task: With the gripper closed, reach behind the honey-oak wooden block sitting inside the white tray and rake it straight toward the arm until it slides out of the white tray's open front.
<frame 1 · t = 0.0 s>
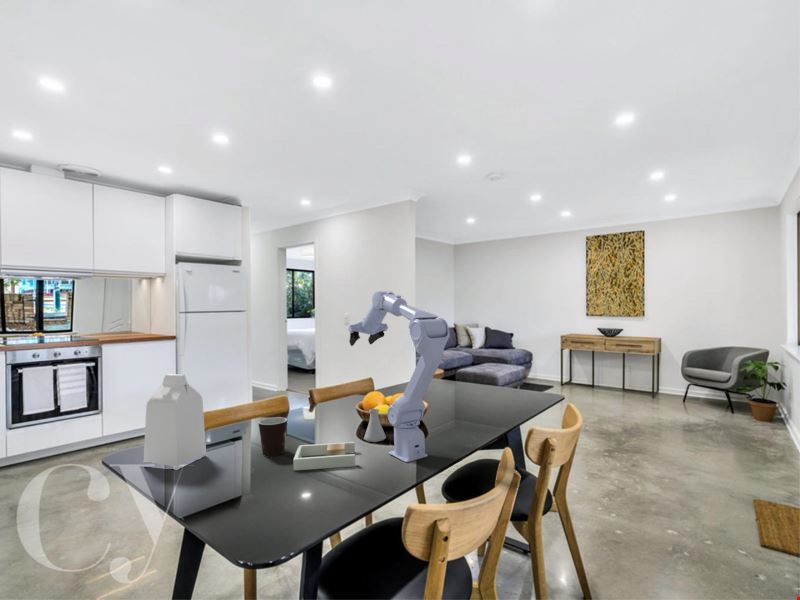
hand: (360, 342, 146), 32 cm above the table, tool tilted 50°, fingers open, 7 cm apart
flask: (374, 439, 138), on the table
milk: (175, 462, 122), on the table
oak block: (336, 460, 120), on the table
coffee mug: (275, 452, 128), on the table
white tray: (327, 460, 119), on the table
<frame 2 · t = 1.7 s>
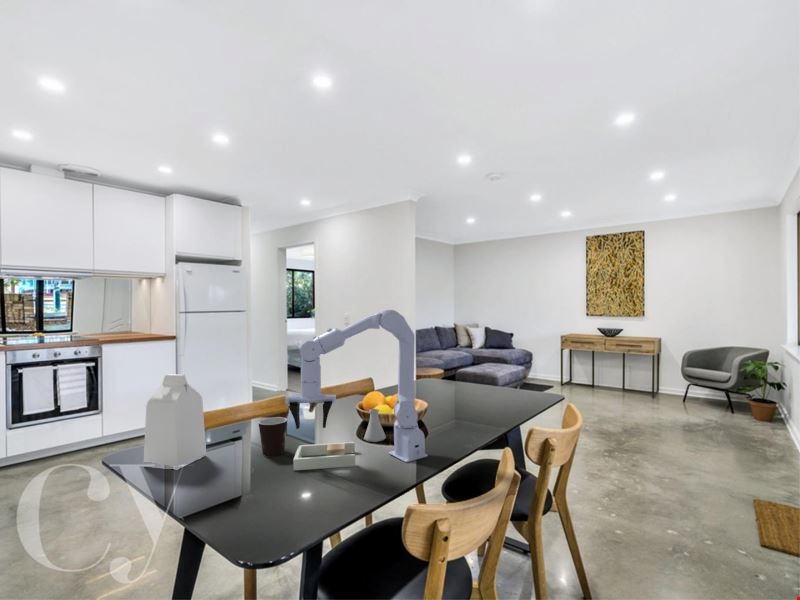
hand: (311, 427, 120), 10 cm above the table, tool pointing down, fingers open, 7 cm apart
nothing on the table moved.
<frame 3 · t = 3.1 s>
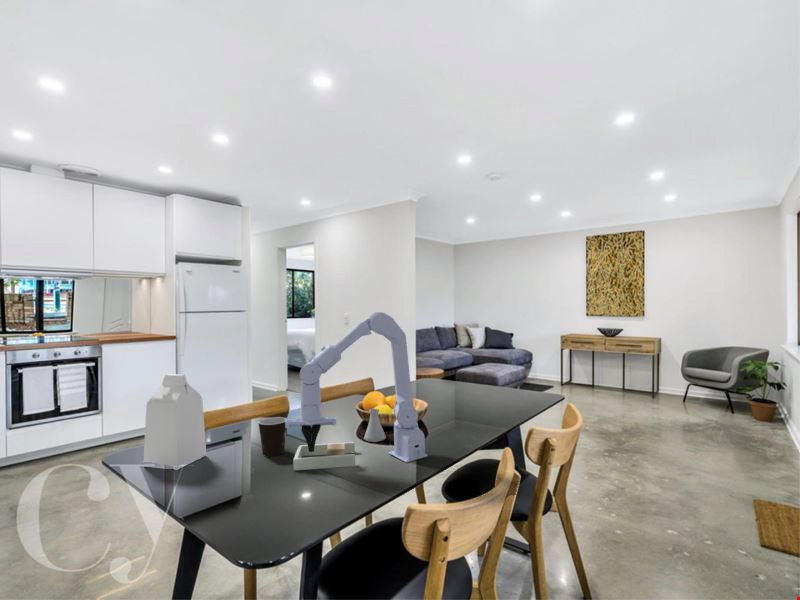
hand: (311, 450, 119), 3 cm above the table, tool pointing down, fingers closed
nothing on the table moved.
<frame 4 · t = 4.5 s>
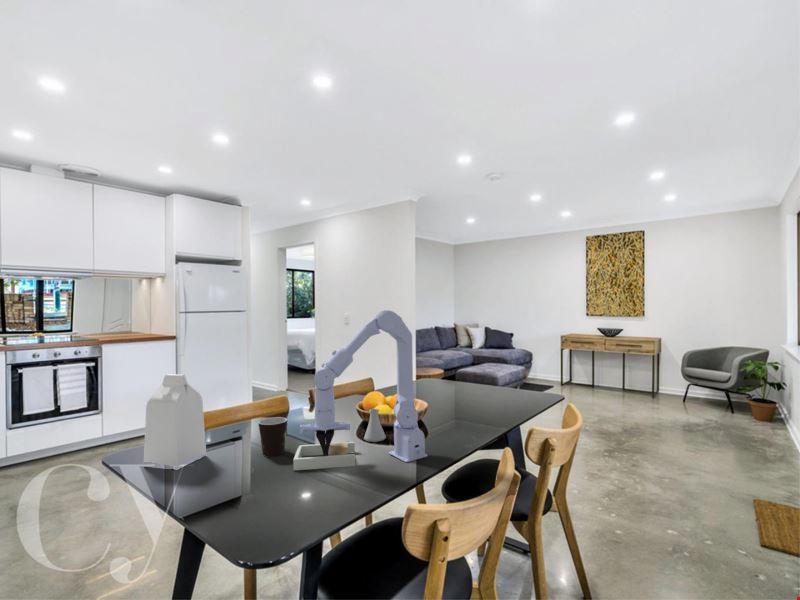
hand: (325, 455, 119), 1 cm above the table, tool pointing down, fingers closed
oak block: (339, 459, 120), on the table, touching gripper
everything else where it was.
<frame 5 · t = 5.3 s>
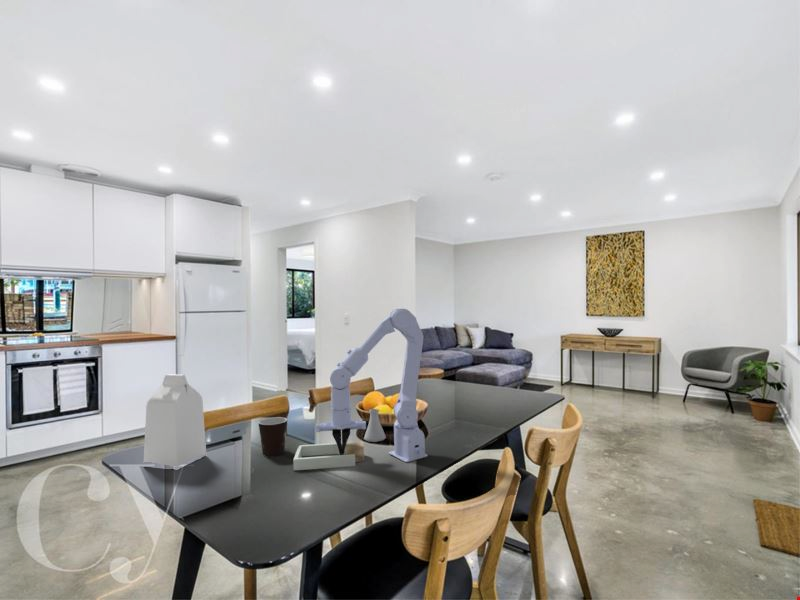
hand: (341, 454, 120), 1 cm above the table, tool pointing down, fingers closed
oak block: (355, 458, 120), on the table, touching gripper
everything else where it was.
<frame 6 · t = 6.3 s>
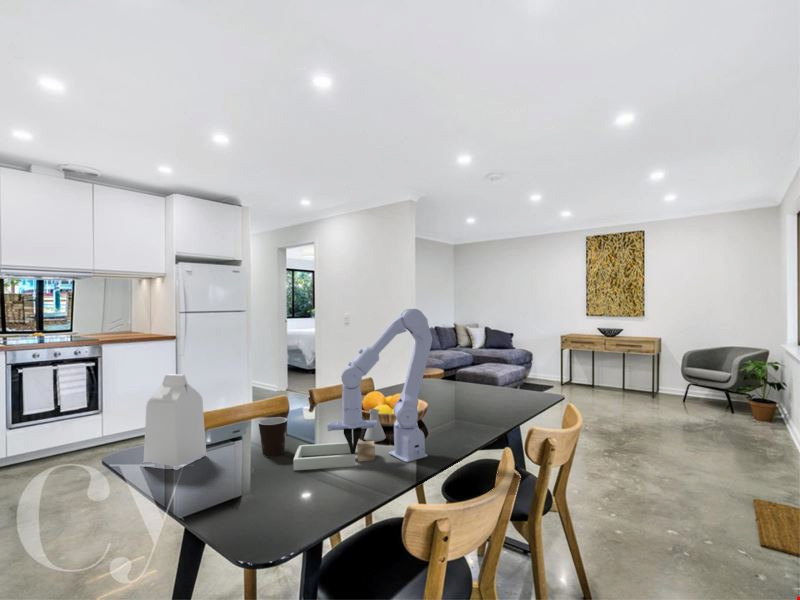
hand: (353, 453, 120), 1 cm above the table, tool pointing down, fingers closed
oak block: (366, 457, 121), on the table, touching gripper
everything else where it was.
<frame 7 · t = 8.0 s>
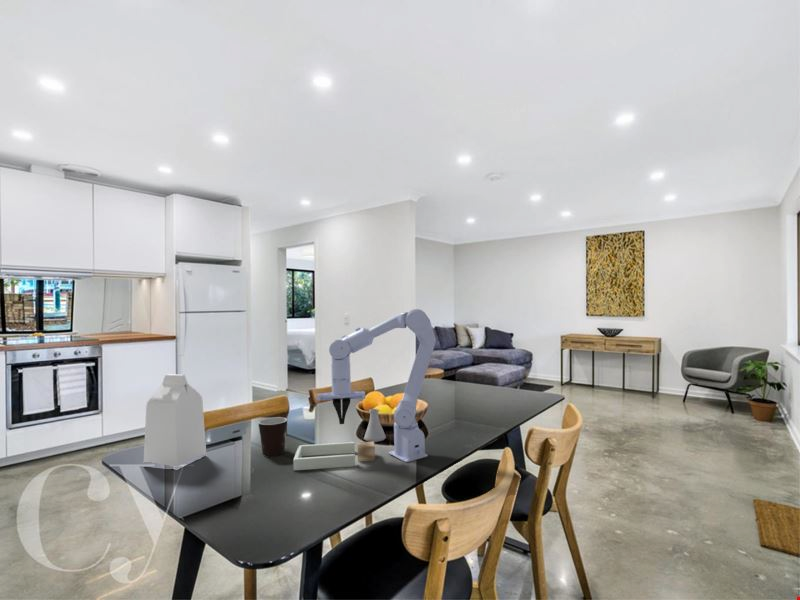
hand: (341, 423, 124), 9 cm above the table, tool pointing down, fingers closed
oak block: (366, 458, 121), on the table
everything else where it was.
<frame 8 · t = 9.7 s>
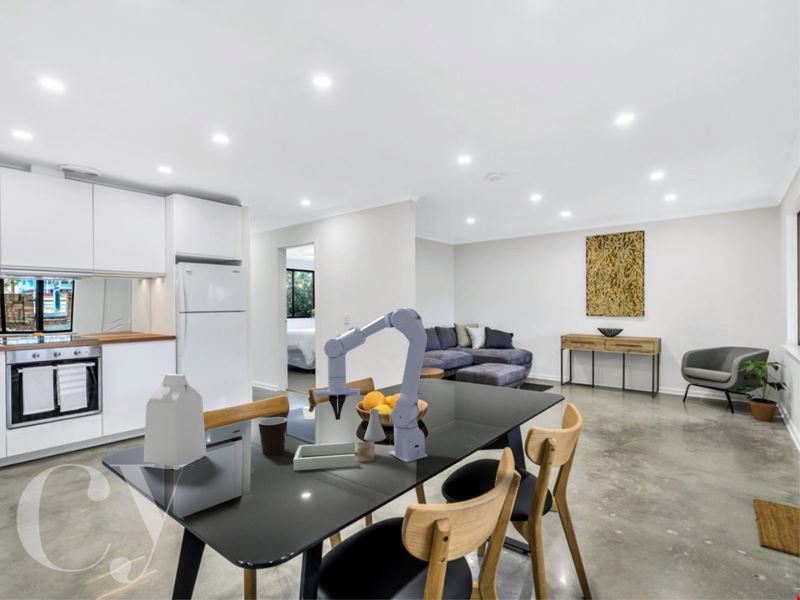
hand: (337, 418, 130), 9 cm above the table, tool pointing down, fingers closed
nothing on the table moved.
at the end: oak block 1.2 cm from the target spot, on the table; oak block moved 8.8 cm from its start; oak block tilted 0° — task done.
